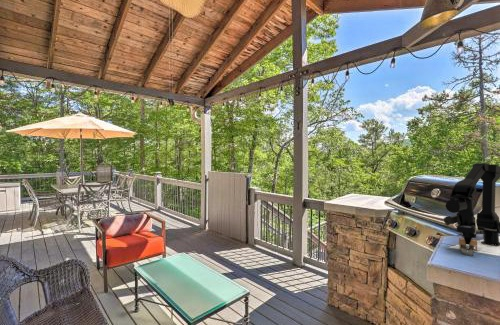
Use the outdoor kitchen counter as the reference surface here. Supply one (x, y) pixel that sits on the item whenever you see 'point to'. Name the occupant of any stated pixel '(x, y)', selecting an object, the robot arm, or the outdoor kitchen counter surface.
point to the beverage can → (474, 233)
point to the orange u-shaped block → (467, 244)
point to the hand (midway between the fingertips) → (467, 244)
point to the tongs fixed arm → (468, 250)
